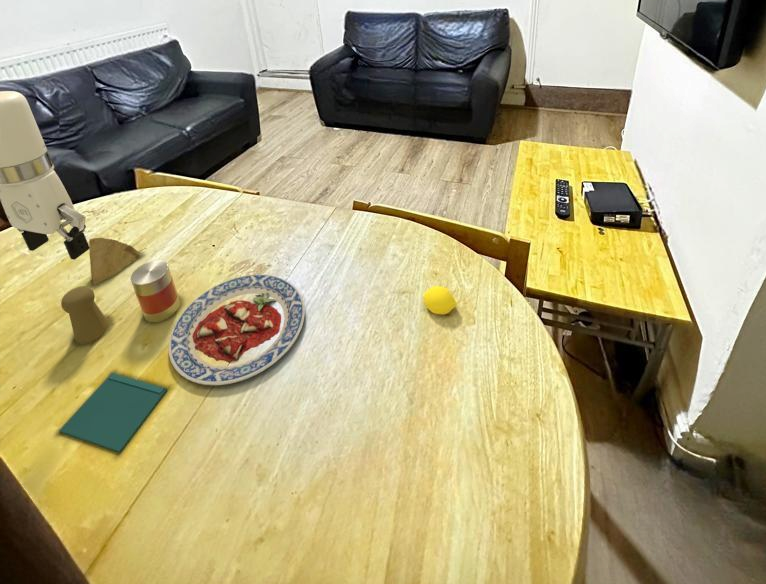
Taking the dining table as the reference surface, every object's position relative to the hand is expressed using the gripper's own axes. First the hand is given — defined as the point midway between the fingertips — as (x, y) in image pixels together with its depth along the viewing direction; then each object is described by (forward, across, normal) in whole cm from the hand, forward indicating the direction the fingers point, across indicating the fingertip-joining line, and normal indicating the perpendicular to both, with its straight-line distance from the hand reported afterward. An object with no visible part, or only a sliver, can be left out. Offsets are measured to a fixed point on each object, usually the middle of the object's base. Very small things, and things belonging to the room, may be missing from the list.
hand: (59, 249), depth 74 cm
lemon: (+22, +66, +22) cm, 73 cm away
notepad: (+22, +17, -11) cm, 30 cm away
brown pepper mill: (+22, -1, 0) cm, 22 cm away
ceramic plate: (+22, +28, +8) cm, 36 cm away
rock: (+22, -11, +16) cm, 29 cm away
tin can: (+22, +9, +8) cm, 25 cm away
